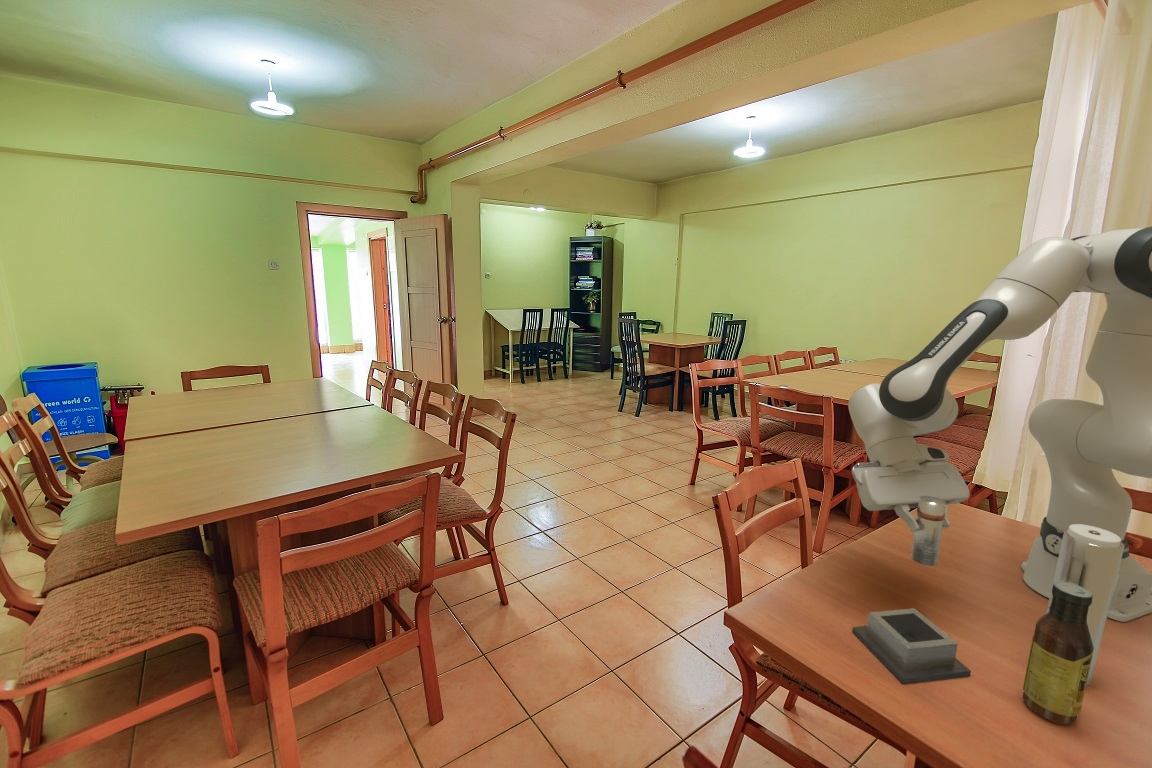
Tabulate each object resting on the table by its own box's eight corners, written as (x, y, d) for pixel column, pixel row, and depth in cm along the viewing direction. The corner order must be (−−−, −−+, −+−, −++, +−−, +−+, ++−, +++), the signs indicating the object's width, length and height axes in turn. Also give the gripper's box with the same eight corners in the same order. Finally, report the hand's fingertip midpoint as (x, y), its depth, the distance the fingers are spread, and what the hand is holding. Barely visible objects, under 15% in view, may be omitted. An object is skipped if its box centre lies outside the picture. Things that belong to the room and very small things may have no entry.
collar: (911, 625, 92) (915, 602, 91) (970, 676, 80) (975, 649, 79) (852, 631, 90) (855, 607, 89) (902, 684, 78) (906, 656, 77)
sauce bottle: (1083, 735, 70) (1114, 611, 65) (1025, 715, 73) (1051, 595, 69) (1069, 702, 75) (1097, 585, 71) (1016, 684, 78) (1039, 572, 74)
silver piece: (1102, 689, 77) (1139, 544, 72) (1053, 683, 78) (1086, 540, 73) (1070, 659, 83) (1102, 523, 78) (1026, 653, 85) (1054, 519, 80)
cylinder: (925, 552, 95) (933, 494, 92) (943, 565, 91) (952, 504, 88) (905, 554, 94) (912, 496, 92) (922, 567, 90) (931, 506, 88)
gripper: (857, 456, 94) (889, 528, 87) (953, 449, 96) (993, 519, 89) (840, 470, 99) (869, 539, 92) (932, 463, 102) (967, 529, 94)
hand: (931, 529), depth 90 cm, fingers closed on cylinder, 4 cm apart
